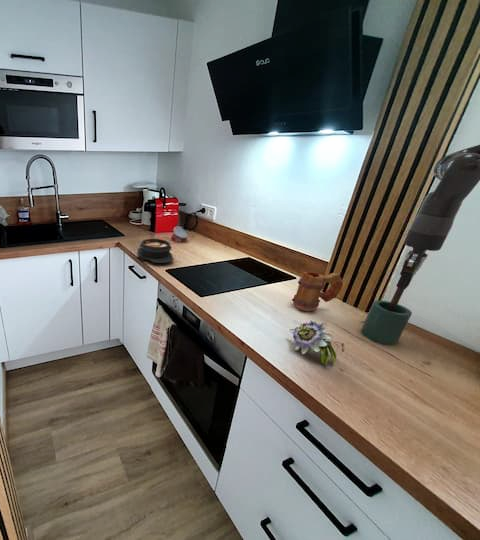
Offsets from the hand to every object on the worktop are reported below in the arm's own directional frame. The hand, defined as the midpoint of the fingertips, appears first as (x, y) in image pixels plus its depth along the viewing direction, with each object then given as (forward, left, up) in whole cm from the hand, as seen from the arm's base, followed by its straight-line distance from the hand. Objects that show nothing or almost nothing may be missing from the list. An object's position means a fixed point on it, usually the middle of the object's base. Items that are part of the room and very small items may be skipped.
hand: (402, 286), depth 85 cm
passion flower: (+26, +12, -19) cm, 34 cm away
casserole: (+74, -58, -19) cm, 96 cm away
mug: (+14, -15, -19) cm, 28 cm away
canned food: (+59, -93, -18) cm, 112 cm away
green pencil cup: (0, 0, -18) cm, 18 cm away
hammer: (0, 0, -13) cm, 13 cm away
